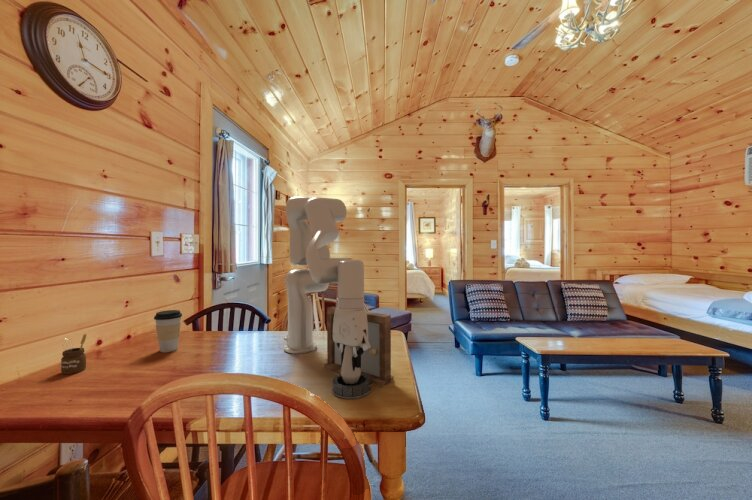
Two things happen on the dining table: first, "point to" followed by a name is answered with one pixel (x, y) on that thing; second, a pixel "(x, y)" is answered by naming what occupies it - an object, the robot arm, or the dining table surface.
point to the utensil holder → (73, 359)
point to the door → (367, 352)
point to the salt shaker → (349, 367)
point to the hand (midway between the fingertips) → (351, 367)
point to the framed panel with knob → (383, 347)
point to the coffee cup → (168, 329)
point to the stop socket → (351, 387)
